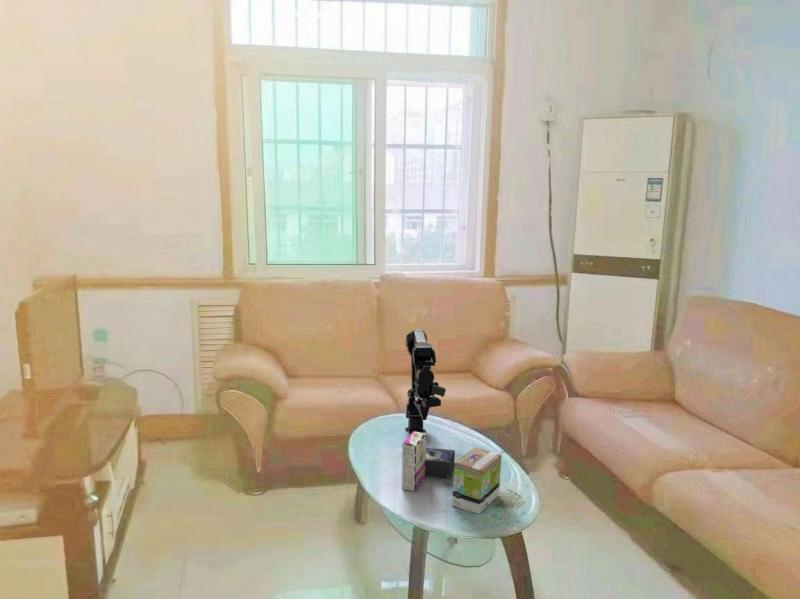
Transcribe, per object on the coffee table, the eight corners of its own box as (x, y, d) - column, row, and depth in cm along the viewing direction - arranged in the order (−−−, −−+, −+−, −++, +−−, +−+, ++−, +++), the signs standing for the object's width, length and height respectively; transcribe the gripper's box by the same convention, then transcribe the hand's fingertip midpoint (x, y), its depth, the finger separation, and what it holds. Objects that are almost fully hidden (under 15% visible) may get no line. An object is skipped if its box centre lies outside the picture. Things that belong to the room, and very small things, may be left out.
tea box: (480, 515, 189) (482, 470, 187) (451, 506, 194) (452, 462, 192) (499, 495, 202) (502, 453, 199) (471, 487, 207) (473, 445, 204)
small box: (455, 449, 220) (451, 462, 210) (454, 466, 222) (450, 480, 211) (425, 446, 222) (420, 459, 212) (425, 463, 224) (420, 476, 214)
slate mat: (429, 472, 217) (429, 471, 217) (465, 462, 225) (465, 461, 225) (449, 486, 207) (449, 485, 207) (486, 475, 215) (486, 475, 215)
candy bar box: (411, 475, 215) (413, 430, 212) (425, 478, 213) (427, 432, 210) (400, 489, 204) (402, 442, 201) (415, 492, 202) (416, 445, 200)
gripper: (453, 381, 225) (454, 423, 226) (432, 371, 242) (434, 410, 244) (425, 385, 221) (426, 427, 222) (406, 375, 238) (407, 414, 240)
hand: (424, 419), depth 232 cm, fingers closed
